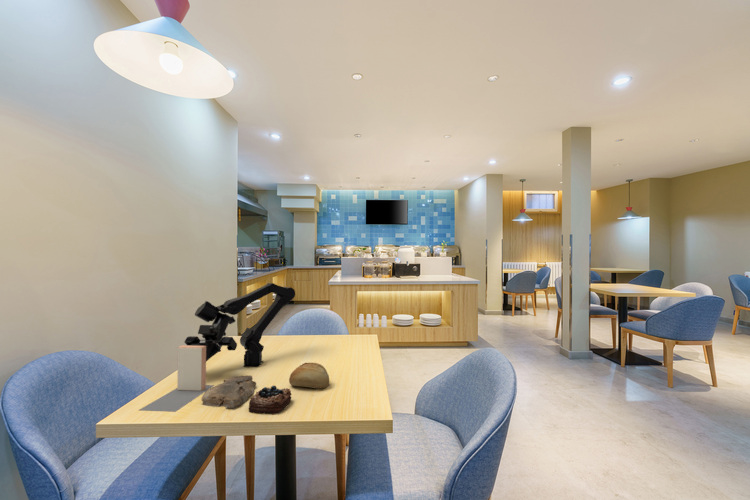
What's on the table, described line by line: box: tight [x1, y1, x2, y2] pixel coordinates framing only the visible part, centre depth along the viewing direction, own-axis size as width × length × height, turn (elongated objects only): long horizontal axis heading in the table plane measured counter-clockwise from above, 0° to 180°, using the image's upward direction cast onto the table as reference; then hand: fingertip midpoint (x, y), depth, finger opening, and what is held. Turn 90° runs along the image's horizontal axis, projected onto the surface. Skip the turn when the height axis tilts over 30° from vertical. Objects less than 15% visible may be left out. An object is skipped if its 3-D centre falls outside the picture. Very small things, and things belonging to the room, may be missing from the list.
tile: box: [176, 344, 207, 391], centre depth 112 cm, size 2×9×15 cm, turn 85°
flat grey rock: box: [201, 375, 257, 410], centre depth 108 cm, size 14×5×20 cm
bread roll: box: [288, 362, 330, 389], centre depth 116 cm, size 10×15×8 cm, turn 84°
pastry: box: [248, 385, 292, 416], centre depth 100 cm, size 11×12×6 cm
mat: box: [139, 384, 215, 413], centre depth 106 cm, size 20×12×1 cm, turn 175°
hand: (201, 363), depth 117 cm, fingers closed
